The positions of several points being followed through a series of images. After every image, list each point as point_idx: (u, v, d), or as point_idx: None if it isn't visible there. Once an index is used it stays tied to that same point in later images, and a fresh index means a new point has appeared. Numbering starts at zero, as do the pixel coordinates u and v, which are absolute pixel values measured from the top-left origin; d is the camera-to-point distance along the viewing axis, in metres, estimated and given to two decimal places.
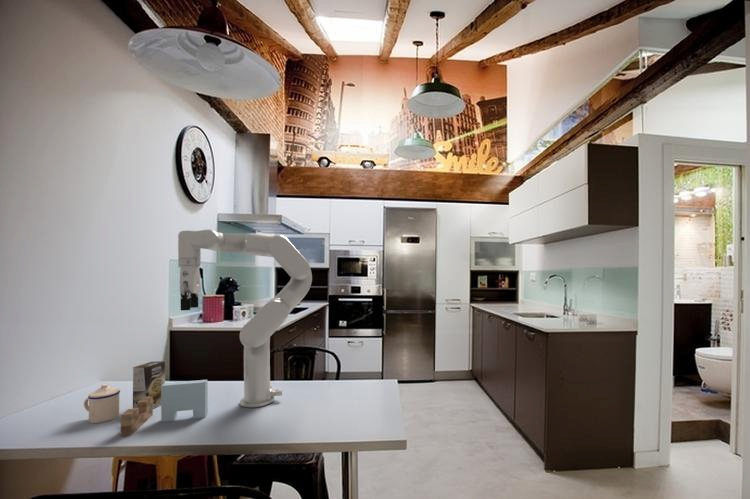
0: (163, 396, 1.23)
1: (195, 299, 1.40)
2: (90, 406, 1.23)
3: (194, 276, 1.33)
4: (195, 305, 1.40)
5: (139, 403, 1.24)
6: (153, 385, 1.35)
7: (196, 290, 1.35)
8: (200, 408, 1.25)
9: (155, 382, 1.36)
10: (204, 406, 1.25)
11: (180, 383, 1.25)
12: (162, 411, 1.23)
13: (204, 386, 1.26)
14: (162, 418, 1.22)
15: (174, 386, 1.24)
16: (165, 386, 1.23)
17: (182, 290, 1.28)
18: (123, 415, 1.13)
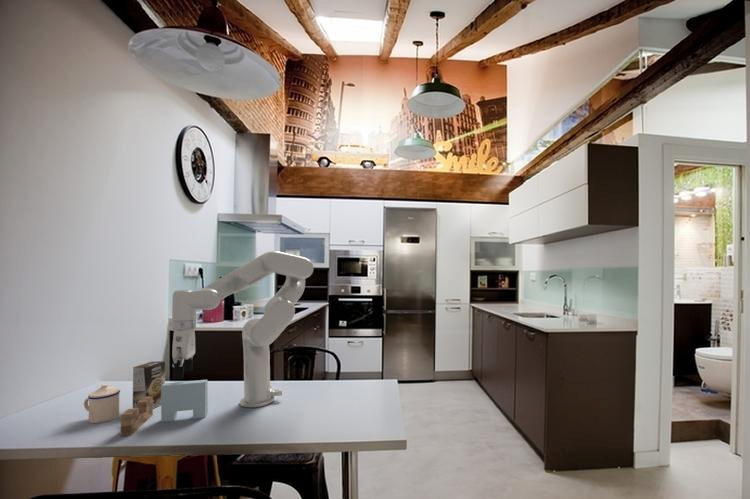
0: (163, 396, 1.23)
1: (189, 362, 1.30)
2: (90, 406, 1.23)
3: (188, 340, 1.24)
4: (189, 369, 1.30)
5: (139, 403, 1.24)
6: (153, 385, 1.35)
7: (190, 355, 1.25)
8: (200, 408, 1.25)
9: (155, 382, 1.36)
10: (204, 406, 1.25)
11: (180, 383, 1.25)
12: (162, 411, 1.23)
13: (204, 386, 1.26)
14: (162, 418, 1.22)
15: (174, 386, 1.24)
16: (165, 386, 1.23)
17: (175, 358, 1.18)
18: (123, 415, 1.13)
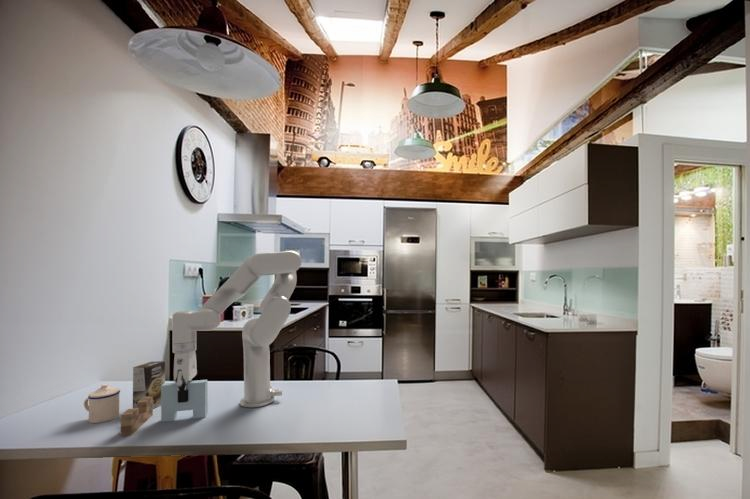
0: (163, 396, 1.23)
1: None
2: (90, 406, 1.23)
3: (189, 362, 1.23)
4: None
5: (139, 403, 1.24)
6: (153, 385, 1.35)
7: (192, 377, 1.25)
8: (200, 408, 1.25)
9: (155, 382, 1.36)
10: (204, 406, 1.25)
11: None
12: (162, 411, 1.23)
13: (204, 386, 1.26)
14: (162, 418, 1.22)
15: (174, 386, 1.24)
16: (165, 386, 1.23)
17: (179, 386, 1.20)
18: (123, 415, 1.13)
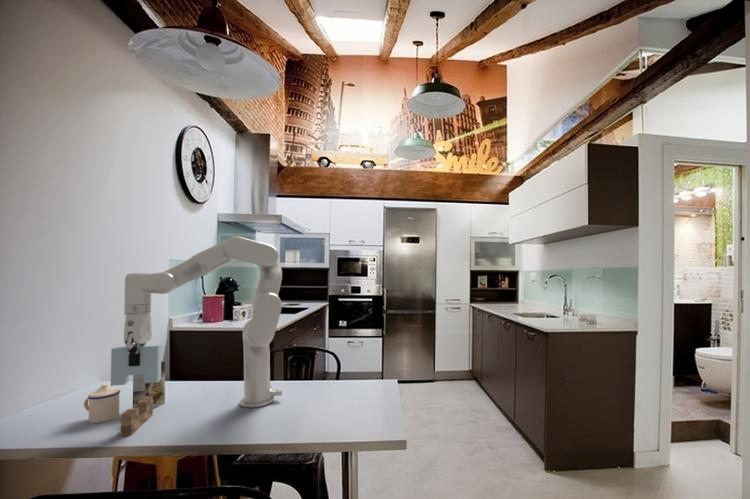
0: (113, 359, 1.19)
1: None
2: (90, 406, 1.23)
3: (141, 325, 1.19)
4: None
5: (139, 403, 1.24)
6: (153, 385, 1.35)
7: (144, 340, 1.21)
8: (152, 373, 1.21)
9: None
10: (156, 371, 1.21)
11: None
12: (112, 375, 1.18)
13: (157, 350, 1.22)
14: (112, 382, 1.18)
15: (125, 349, 1.20)
16: (115, 349, 1.19)
17: (129, 349, 1.16)
18: (123, 415, 1.13)
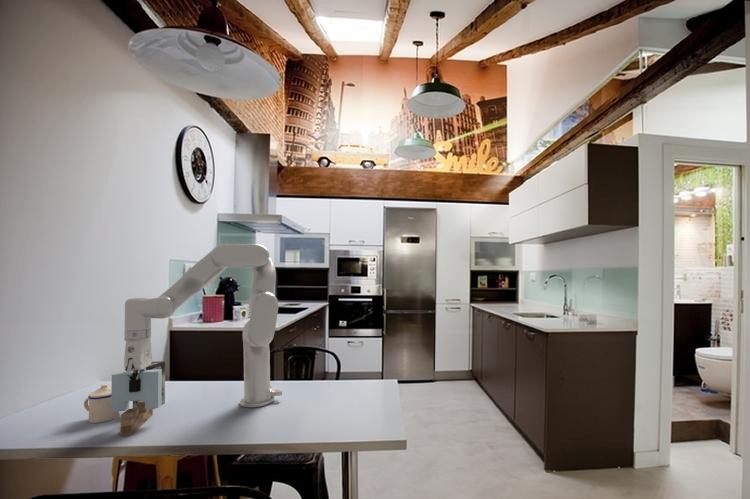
0: (113, 385, 1.18)
1: None
2: (90, 406, 1.23)
3: (141, 351, 1.19)
4: None
5: (139, 403, 1.24)
6: None
7: (144, 366, 1.20)
8: (153, 398, 1.20)
9: None
10: (157, 396, 1.21)
11: None
12: (112, 401, 1.18)
13: (157, 375, 1.21)
14: (112, 408, 1.18)
15: (125, 375, 1.19)
16: (116, 375, 1.19)
17: (129, 375, 1.16)
18: (123, 415, 1.13)
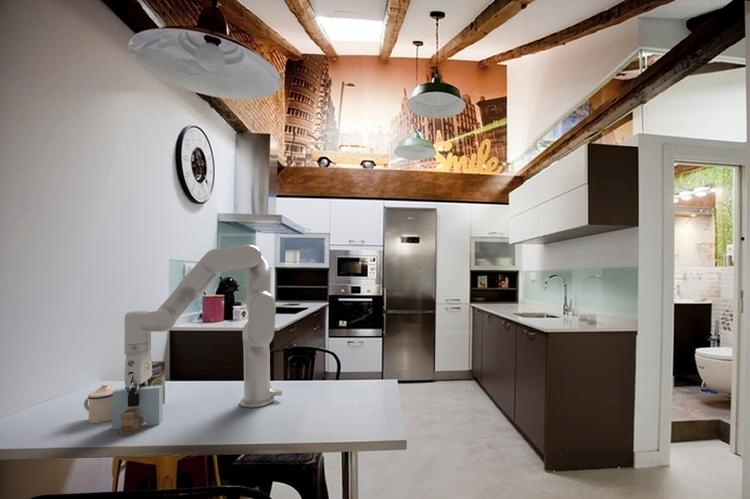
0: (114, 402, 1.18)
1: None
2: (90, 406, 1.23)
3: (142, 364, 1.19)
4: None
5: None
6: (153, 385, 1.35)
7: (145, 379, 1.20)
8: (154, 415, 1.20)
9: (155, 382, 1.36)
10: (158, 413, 1.21)
11: None
12: (113, 418, 1.18)
13: (158, 392, 1.21)
14: (113, 425, 1.18)
15: (126, 392, 1.19)
16: (117, 392, 1.19)
17: (128, 388, 1.14)
18: (123, 415, 1.13)
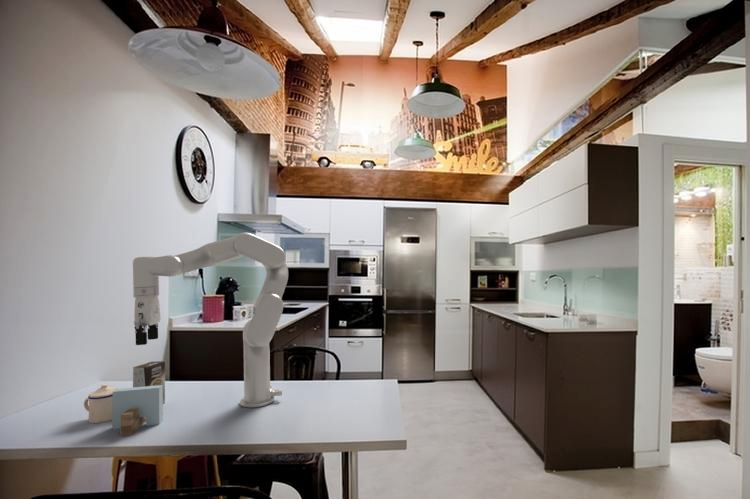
0: (114, 402, 1.18)
1: (154, 330, 1.29)
2: (90, 406, 1.23)
3: (151, 307, 1.23)
4: (154, 336, 1.29)
5: None
6: (153, 385, 1.35)
7: (154, 321, 1.24)
8: (154, 415, 1.20)
9: (155, 382, 1.36)
10: (158, 413, 1.21)
11: (133, 389, 1.20)
12: (113, 418, 1.18)
13: (158, 392, 1.21)
14: (113, 425, 1.18)
15: (126, 392, 1.19)
16: (117, 392, 1.19)
17: (136, 324, 1.17)
18: (123, 415, 1.13)
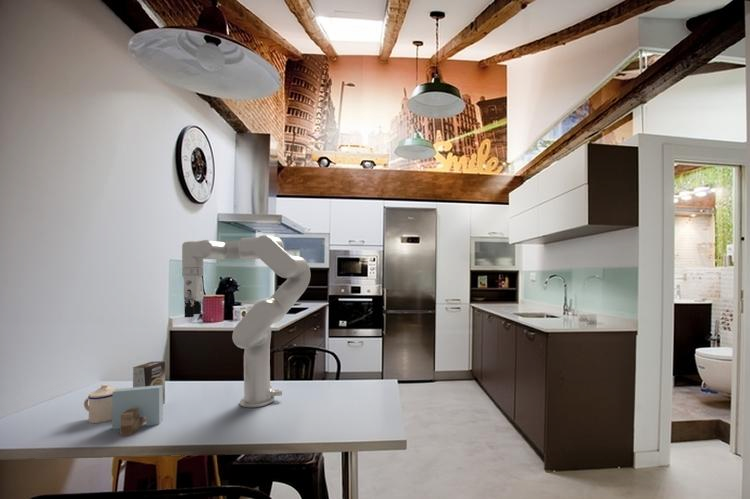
0: (114, 402, 1.18)
1: (198, 306, 1.48)
2: (90, 406, 1.23)
3: (197, 285, 1.41)
4: (198, 312, 1.48)
5: None
6: (153, 385, 1.35)
7: (199, 298, 1.42)
8: (154, 415, 1.20)
9: (155, 382, 1.36)
10: (158, 413, 1.21)
11: (133, 389, 1.20)
12: (113, 418, 1.18)
13: (158, 392, 1.21)
14: (113, 425, 1.18)
15: (126, 392, 1.19)
16: (117, 392, 1.19)
17: (186, 298, 1.35)
18: (123, 415, 1.13)
